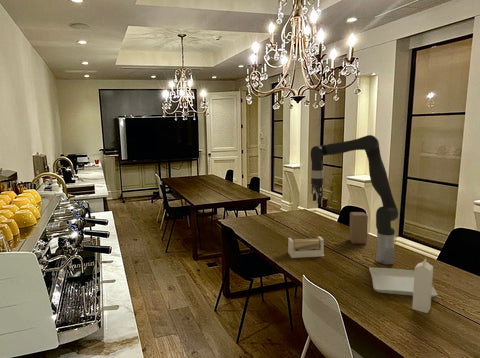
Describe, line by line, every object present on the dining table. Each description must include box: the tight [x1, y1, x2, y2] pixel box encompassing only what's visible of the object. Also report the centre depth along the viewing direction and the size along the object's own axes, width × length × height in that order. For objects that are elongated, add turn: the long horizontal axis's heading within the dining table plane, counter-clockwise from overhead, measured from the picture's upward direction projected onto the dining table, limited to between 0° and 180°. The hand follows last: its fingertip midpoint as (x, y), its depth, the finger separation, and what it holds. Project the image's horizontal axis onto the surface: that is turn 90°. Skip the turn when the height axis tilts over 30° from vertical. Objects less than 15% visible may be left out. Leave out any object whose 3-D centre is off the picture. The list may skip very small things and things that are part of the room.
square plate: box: [368, 267, 439, 298], centre depth 170 cm, size 27×27×4 cm
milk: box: [411, 258, 434, 314], centre depth 147 cm, size 6×6×22 cm
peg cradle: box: [287, 236, 325, 259], centre depth 214 cm, size 10×20×10 cm, turn 95°
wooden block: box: [348, 211, 369, 245], centre depth 235 cm, size 10×10×20 cm
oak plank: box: [292, 237, 319, 250], centre depth 214 cm, size 4×15×5 cm, turn 95°
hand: (316, 202), depth 221 cm, fingers open, 8 cm apart
